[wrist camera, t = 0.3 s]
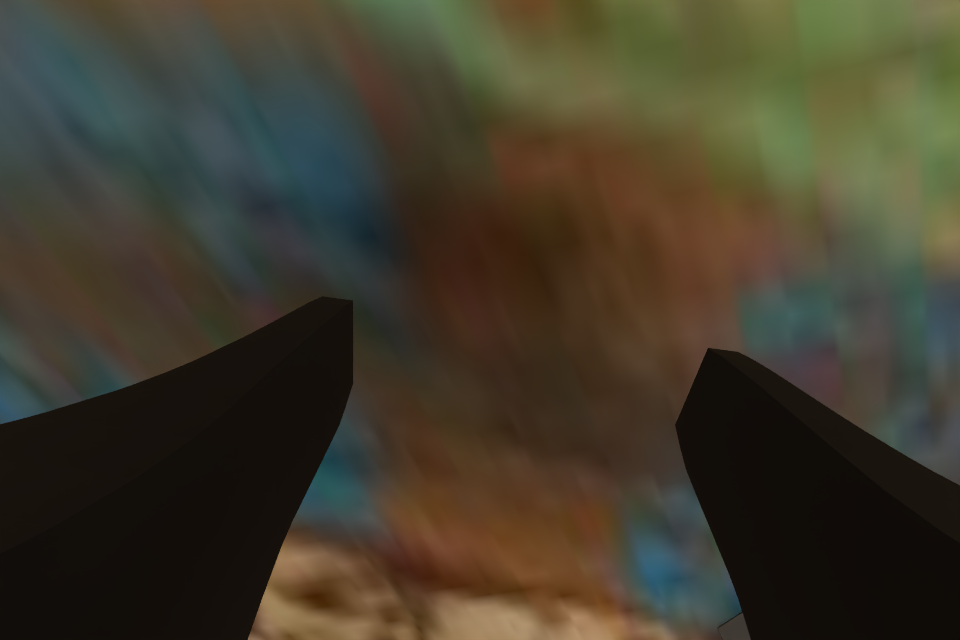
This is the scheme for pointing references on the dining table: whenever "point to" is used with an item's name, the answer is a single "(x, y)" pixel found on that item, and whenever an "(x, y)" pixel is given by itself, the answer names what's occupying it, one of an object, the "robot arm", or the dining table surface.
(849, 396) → the dining table surface
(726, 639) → the wall board
